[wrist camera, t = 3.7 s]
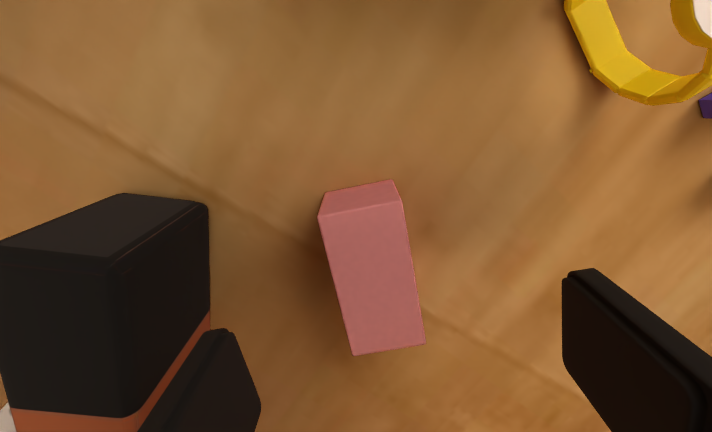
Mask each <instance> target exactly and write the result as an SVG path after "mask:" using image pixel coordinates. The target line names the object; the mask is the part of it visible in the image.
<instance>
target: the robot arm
mask: <svg viewBox="0 0 712 432" xmlns="http://www.w3.org/2000/svg"><path fill="white" fill-rule="evenodd" d="M562 357H563V362H564V365H565V367H566V369H567V371H568V373H569V374H570V375H571V377H572V378H573V379H574V381H575V382H576V383H577V385H578V386H579V388H580V389H581V390H582V392H583V393H584V394H585V396H586V397H587V399H588V400H589V401H590V403H591V404H592V405H593V407H594V408H595V409H596V411H597V412H598V414H599V415H600V416H601V418H602V419H603V420H604V422H605V423H606V425H607V426H608V427H609V429H610V430H611V431H612V432H712V357H711V356H709V355H708V354H707V353H705V352H704V351H703V350H702V349H700V348H699V347H698V346H696V345H695V344H694V343H692V342H691V341H690V340H688V339H687V338H686V337H684V336H683V335H682V334H681V333H679V332H678V331H677V330H675V329H674V328H673V327H671V326H670V325H669V324H667V323H666V322H665V321H663V320H662V319H661V318H660V317H658V316H657V315H656V314H654V313H653V312H652V311H650V310H649V309H648V308H646V307H645V306H644V305H642V304H641V303H640V302H639V301H637V300H636V299H635V298H633V297H632V296H631V295H629V294H628V293H627V292H625V291H624V290H623V289H621V288H620V287H619V286H617V285H616V284H615V283H614V282H612V281H611V280H610V279H608V278H607V277H606V276H604V275H603V274H602V273H600V272H599V271H598V270H596V269H594V268H589V269H583V270H577V271H571V272H569V273H568V275H567V278H564V279H563V280H562ZM260 412H261V402H260V398H259V396H258V393H257V391H256V388H255V385H254V383H253V380H252V378H251V375H250V373H249V370H248V368H247V365H246V362H245V360H244V357H243V355H242V352H241V350H240V347H239V345H238V342H237V339H236V337H235V335H234V333H233V332H229V331H228V330H227V329H225V328H222V329H216V330H209V331H205V332H204V333H203V334H202V335H201V337H200V338H199V340H198V341H197V343H196V344H195V346H194V347H193V349H192V350H191V352H190V353H189V355H188V356H187V358H186V359H185V361H184V362H183V364H182V365H181V367H180V368H179V370H178V371H177V373H176V374H175V376H174V377H173V379H172V380H171V382H170V383H169V385H168V386H167V388H166V389H165V391H164V392H163V394H162V395H161V397H160V398H159V400H158V401H157V403H156V404H155V406H154V407H153V409H152V410H151V412H150V413H149V415H148V416H147V418H146V419H145V421H144V422H143V424H142V425H141V427H140V428H139V430H138V431H137V432H255V428H256V425H257V422H258V419H259V416H260ZM0 432H16V429H15V425H14V421H13V418H12V414H11V410H10V406H9V403H8V402H7V403H6V405H5V406H4V407H3V408H2V409H1V410H0Z"/></svg>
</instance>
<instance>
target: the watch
mask: <svg viewBox="0 0 712 432" xmlns="http://www.w3.org/2000/svg"><path fill="white" fill-rule="evenodd" d="M670 7H671V14H672V20H673V23H674V25H675V27H676V29H677V30H678V32H679V34H680V35H681V36H682V37H683V38H684V39H686V40H687V41H688V42H690V43H691V44H693V45H696V46H700V47H705V48H708V49H707V53H706V57H705V61H704V65H703V69H702V70H701V71H700V72H699V73H696V74H691V75H686V76H682V77H681V76H677V75H673V74H670V73H666V72H662V71H658V70H654V69H651V68H650V67H649V66H647V65H646V64H645V63H643V62H642V61H641V60H639V59H638V58H636V57H635V56H634V55H632V54H631V53H630V52H628V51H627V49H626V47H625V45H624V42H623V40H622V38H621V35H620V33H619V31H618V28H617V26H616V23H615V21H614V19H613V16H612V14H611V12H610V9H609V7H608V4H607V2H606V0H564V11H565V12H566V14H567V17H568V19H569V21H570V23H571V25H572V28H573V30H574V32H575V34H576V36H577V39H578V41H579V43H580V45H581V47H582V50H583V52H584V54H585V56H586V58H587V61H588V63H589V65H590V67H591V69H589V71H590V73H592V72H593V75H594V76H595V77H596V78H598V79H599V80H600V81H601V82H602V83H604V84H605V85H606V86H607V87H608V88H610V89H611V90H612V91H613V92H614V93H618V95H620V96H623V97H626V98H628V99H631V100H634V101H637V102H640V103H643V104H645V105H652V106H654V105H663V104H671V103H679V102H683V101H685V100H688V99H690V98H691V97H693V96H695V95H696V94H698V93H700V92H701V91H703V90H705V89H706V88H708V87H710V86H712V0H671V3H670Z"/></svg>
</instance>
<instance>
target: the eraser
mask: <svg viewBox="0 0 712 432" xmlns="http://www.w3.org/2000/svg"><path fill="white" fill-rule="evenodd" d="M317 220H318V224H319V228H320V231H321V235H322V239H323V243H324V247H325V251H326V255H327V259H328V263H329V267H330V270H331V274H332V278H333V282H334V286H335V290H336V294H337V298H338V302H339V306H340V309H341V313H342V317H343V321H344V325H345V329H346V333H347V337H348V341H349V344H350V348H351V352H352V355H353V356H358V355H364V354H370V353H376V352H382V351H388V350H394V349H400V348H406V347H412V346H418V345H424V344H426V339H425V333H424V327H423V321H422V315H421V309H420V303H419V297H418V291H417V286H416V280H415V274H414V268H413V262H412V256H411V250H410V244H409V238H408V233H407V227H406V221H405V215H404V209H403V203H402V200H401V197H400V195H399V193H398V191H397V188H396V186H395V184H394V182H393V180H392V179H390V180H385V181H380V182H375V183H370V184H365V185H360V186H355V187H350V188H345V189H340V190H335V191H330V192H326V193H325V195H324V198H323V201H322V204H321V207H320V210H319V213H318V216H317Z"/></svg>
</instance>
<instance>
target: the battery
mask: <svg viewBox="0 0 712 432" xmlns="http://www.w3.org/2000/svg"><path fill="white" fill-rule="evenodd" d="M209 330H210V290H209V230H208V209H207V207H206V206H205V205H204V204H203V203H199V202H195V201H188V200H180V199H171V198H163V197H154V196H146V195H137V194H129V193H122V194H116V195H113V196H111V197H108V198H105V199H103V200H100V201H98V202H95V203H93V204H90V205H88V206H85V207H83V208H80V209H78V210H75V211H73V212H71V213H68V214H66V215H63V216H61V217H58V218H56V219H53V220H51V221H48V222H46V223H43V224H41V225H38V226H36V227H33V228H31V229H28V230H26V231H23V232H21V233H18V234H16V235H13V236H11V237H8V238H6V239H3V240H1V241H0V373H1V376H2V380H3V384H4V388H5V391H6V395H7V399H8V403H9V406H10V410H11V414H12V418H13V421H14V425H15V429H16V432H137V431H138V430H139V428H140V427H141V425H142V424H143V422H144V421H145V419H146V418H147V416H148V415H149V413H150V412H151V410H152V409H153V407H154V406H155V404H156V403H157V401H158V400H159V398H160V397H161V395H162V394H163V392H164V391H165V389H166V388H167V386H168V385H169V383H170V382H171V380H172V379H173V377H174V376H175V374H176V373H177V371H178V370H179V368H180V367H181V365H182V364H183V362H184V361H185V359H186V358H187V356H188V355H189V353H190V352H191V350H192V349H193V347H194V346H195V344H196V343H197V341H198V340H199V338H200V337H201V335H202V334H203V333H204V332H205V331H209Z"/></svg>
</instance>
